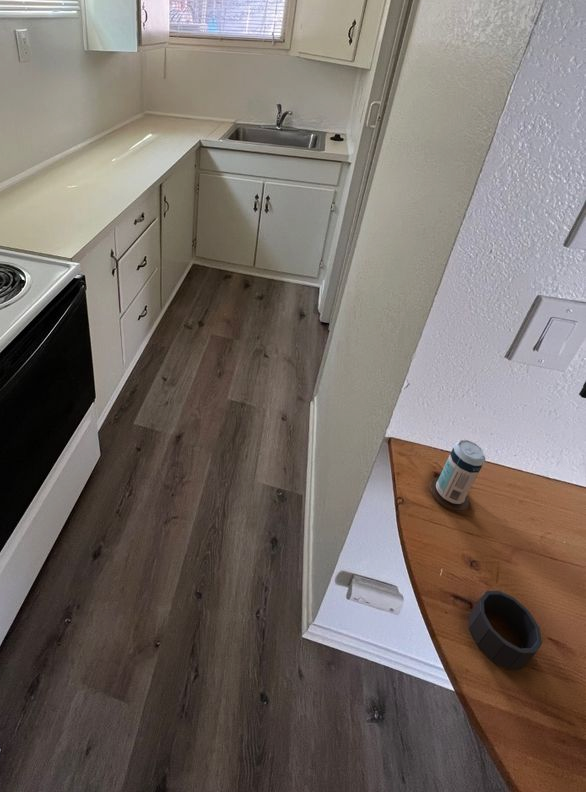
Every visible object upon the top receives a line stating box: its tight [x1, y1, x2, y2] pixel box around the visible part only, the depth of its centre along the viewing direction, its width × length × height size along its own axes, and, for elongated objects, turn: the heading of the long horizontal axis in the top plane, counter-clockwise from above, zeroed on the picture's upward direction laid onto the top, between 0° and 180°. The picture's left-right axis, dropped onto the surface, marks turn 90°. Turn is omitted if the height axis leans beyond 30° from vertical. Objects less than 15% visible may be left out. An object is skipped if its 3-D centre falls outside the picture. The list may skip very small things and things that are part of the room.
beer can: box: [436, 439, 486, 504], centre depth 77 cm, size 5×5×12 cm
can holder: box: [467, 590, 543, 671], centre depth 60 cm, size 7×7×5 cm
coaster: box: [428, 476, 470, 513], centre depth 80 cm, size 6×6×1 cm
